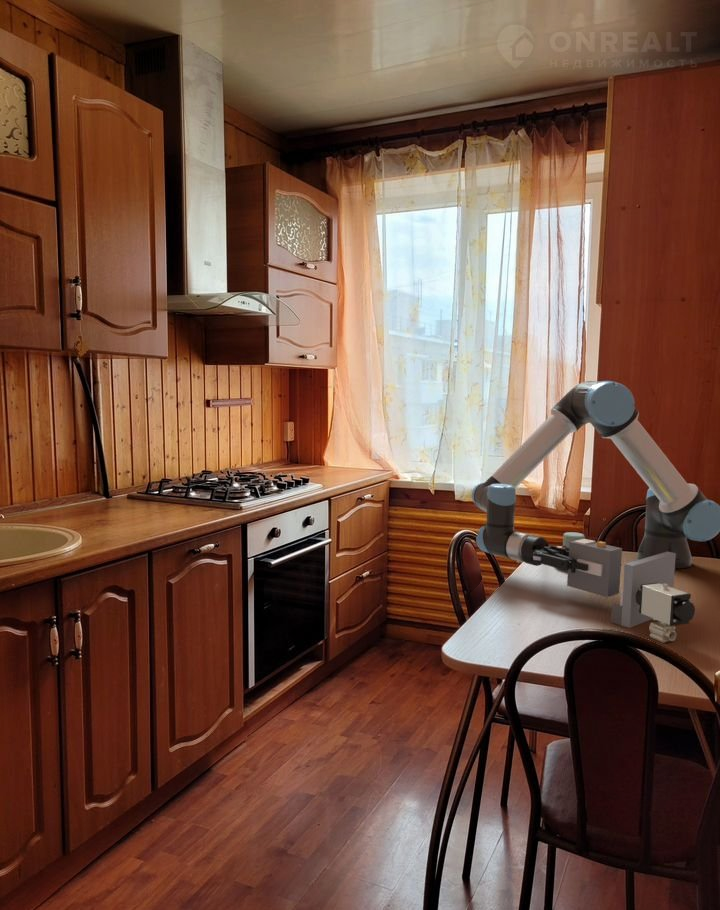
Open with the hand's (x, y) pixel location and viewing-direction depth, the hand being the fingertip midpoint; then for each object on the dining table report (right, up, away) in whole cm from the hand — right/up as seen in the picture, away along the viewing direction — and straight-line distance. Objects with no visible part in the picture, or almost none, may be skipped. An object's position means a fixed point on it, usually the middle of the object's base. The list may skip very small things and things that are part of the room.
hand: (608, 568), depth 166 cm
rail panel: (+6, -10, -4) cm, 13 cm away
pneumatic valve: (+5, -12, -18) cm, 23 cm away
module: (-3, -6, +4) cm, 7 cm away
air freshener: (+3, -6, +38) cm, 38 cm away
